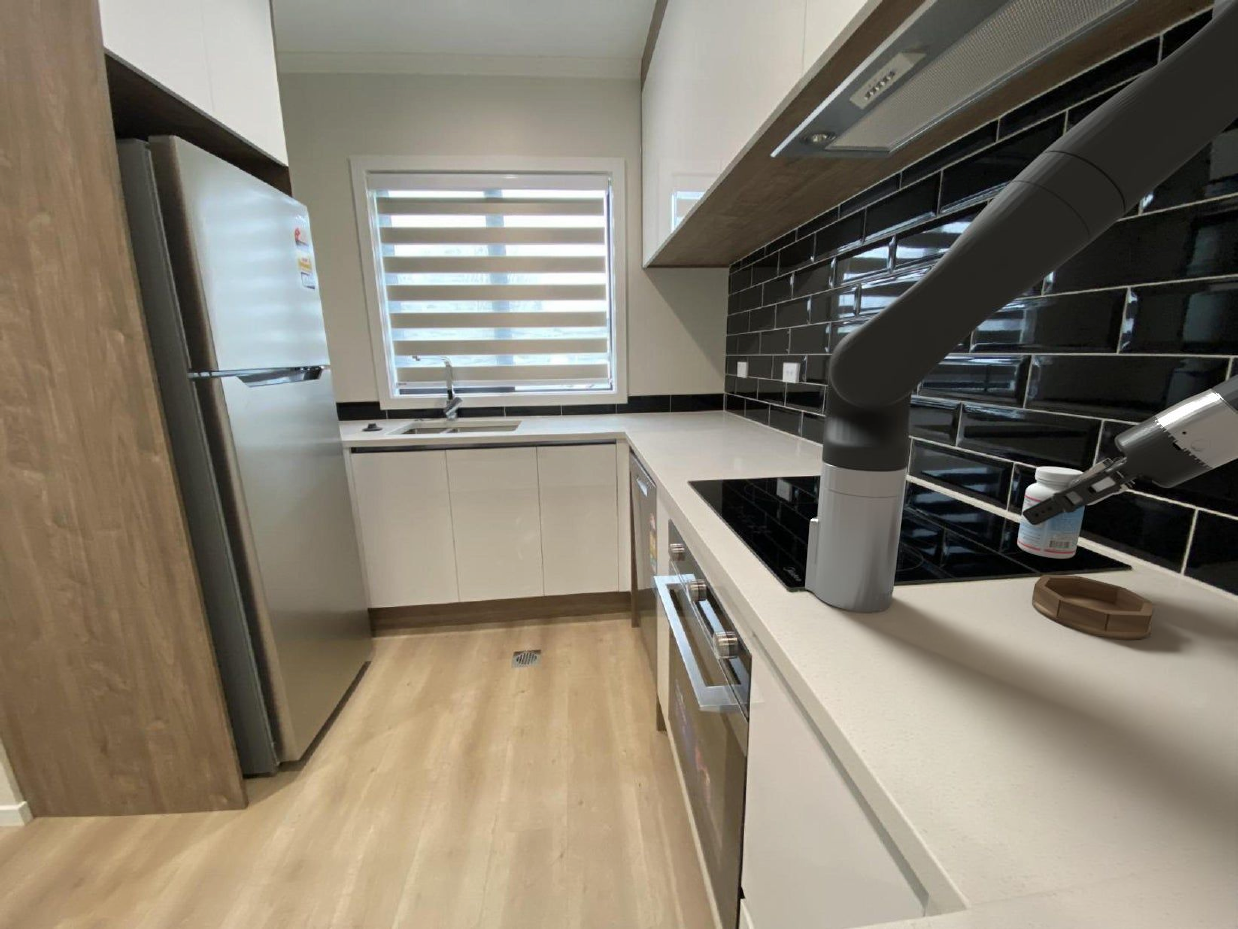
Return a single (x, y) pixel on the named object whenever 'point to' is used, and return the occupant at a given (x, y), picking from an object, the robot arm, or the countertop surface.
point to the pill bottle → (1058, 531)
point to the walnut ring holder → (1093, 607)
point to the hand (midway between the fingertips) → (1034, 513)
